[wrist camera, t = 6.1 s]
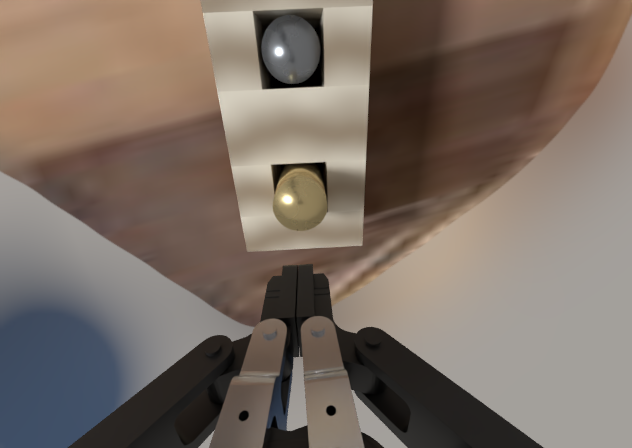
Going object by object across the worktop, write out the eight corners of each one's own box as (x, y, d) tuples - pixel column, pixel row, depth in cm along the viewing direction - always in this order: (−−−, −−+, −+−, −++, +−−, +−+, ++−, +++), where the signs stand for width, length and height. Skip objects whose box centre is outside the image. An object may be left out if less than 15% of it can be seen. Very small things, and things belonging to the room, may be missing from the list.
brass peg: (277, 159, 27) (269, 182, 21) (321, 157, 27) (326, 179, 21) (281, 200, 29) (275, 232, 23) (323, 198, 29) (327, 229, 23)
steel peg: (269, 32, 26) (257, 16, 20) (315, 30, 26) (319, 13, 20) (274, 84, 28) (265, 85, 22) (317, 82, 28) (321, 82, 22)
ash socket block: (221, -23, 25) (188, -65, 17) (355, -28, 25) (376, -73, 18) (258, 217, 36) (247, 251, 29) (350, 213, 36) (362, 245, 29)
